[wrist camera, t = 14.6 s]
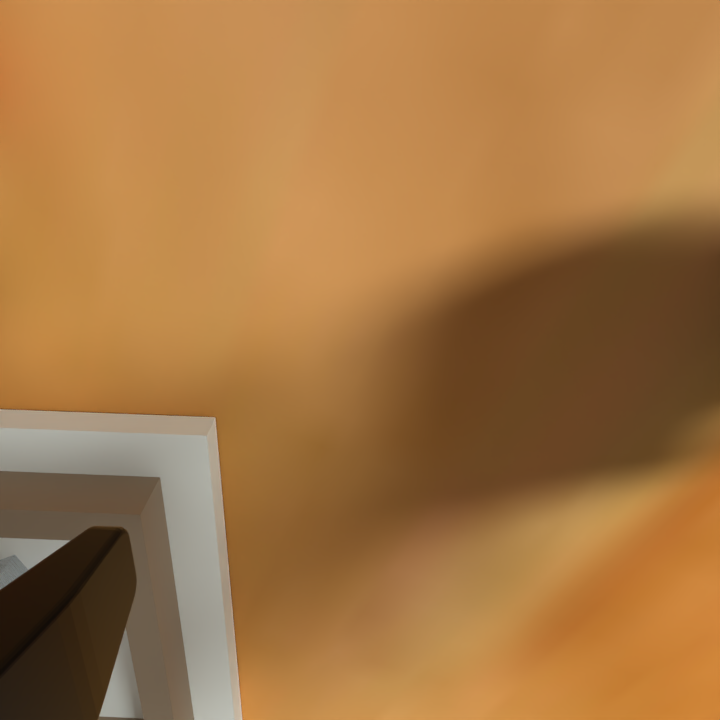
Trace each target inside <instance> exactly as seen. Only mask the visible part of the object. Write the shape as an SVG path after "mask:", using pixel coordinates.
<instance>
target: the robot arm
mask: <svg viewBox="0 0 720 720" xmlns="http://www.w3.org/2000/svg"><path fill="white" fill-rule="evenodd" d="M136 586H137V576H136V570H135V564H134V558H133V553H132V547H131V542H130V537H129V533H128V531H127V530H126V529H125V528H123V527H120V526H92V527H90V528H88V529H86V530H85V531H83V532H82V533H80V534H79V535H78V536H76V537H75V538H73V539H72V540H70V541H69V542H68V543H66V544H65V545H63V546H62V547H60V548H59V549H58V550H56V551H55V552H53V553H52V554H50V555H49V556H48V557H46V558H45V559H43V560H42V561H40V562H39V563H38V564H36V565H35V566H33V567H32V568H30V569H29V570H28V571H26V572H25V573H23V574H22V575H20V576H19V577H17V578H16V579H15V580H13V581H12V582H10V583H9V584H7V585H6V586H5V587H3V588H2V589H0V720H98V718H99V715H100V712H101V709H102V705H103V702H104V699H105V696H106V693H107V689H108V686H109V682H110V679H111V675H112V672H113V669H114V665H115V662H116V658H117V655H118V652H119V648H120V645H121V641H122V638H123V635H124V631H125V628H126V624H127V621H128V618H129V614H130V611H131V607H132V604H133V601H134V597H135V593H136Z"/></svg>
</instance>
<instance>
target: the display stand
mask: <svg viewBox="0 0 720 720" xmlns="http://www.w3.org/2000/svg"><path fill="white" fill-rule="evenodd" d="M92 526H120V527H123V528H125V529H126V530H127V531H128V533H129V537H130V542H131V547H132V553H133V558H134V564H135V570H136V576H137V586H136V593H135V597H134V601H133V604H132V607H131V611H130V614H129V618H128V621H127V624H126V628H125V631H124V635H123V638H122V641H121V645H120V648H119V652H118V655H117V658H116V662H115V665H114V669H113V672H112V675H111V679H110V682H109V686H108V689H107V693H106V696H105V699H104V702H103V705H102V709H101V712H100V715H99V718H98V720H242V709H241V698H240V687H239V675H238V664H237V653H236V642H235V631H234V619H233V608H232V597H231V586H230V575H229V563H228V552H227V541H226V530H225V518H224V507H223V496H222V485H221V474H220V462H219V451H218V440H217V429H216V418H215V417H194V416H168V415H141V414H114V413H88V412H61V411H34V410H7V409H0V560H1V559H4V558H7V557H9V556H12V555H16V556H17V558H18V559H19V560H20V561H21V562H22V563H23V564H24V566H25V567H26V568H27V569H28V570H29V569H30V568H32V567H33V566H35V565H36V564H38V563H39V562H40V561H42V560H43V559H45V558H46V557H48V556H49V555H50V554H52V553H53V552H55V551H56V550H58V549H59V548H60V547H62V546H63V545H65V544H66V543H68V542H69V541H70V540H72V539H73V538H75V537H76V536H78V535H79V534H80V533H82V532H83V531H85V530H86V529H88V528H90V527H92Z"/></svg>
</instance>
